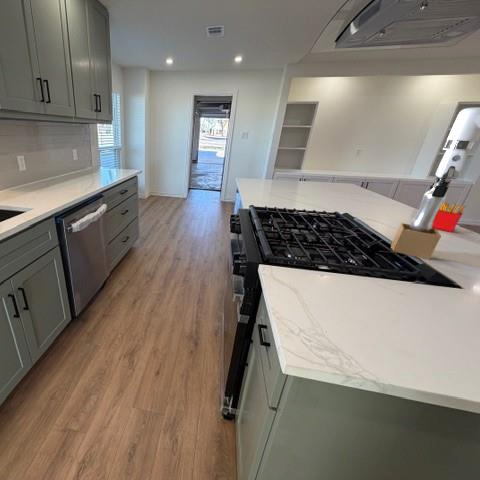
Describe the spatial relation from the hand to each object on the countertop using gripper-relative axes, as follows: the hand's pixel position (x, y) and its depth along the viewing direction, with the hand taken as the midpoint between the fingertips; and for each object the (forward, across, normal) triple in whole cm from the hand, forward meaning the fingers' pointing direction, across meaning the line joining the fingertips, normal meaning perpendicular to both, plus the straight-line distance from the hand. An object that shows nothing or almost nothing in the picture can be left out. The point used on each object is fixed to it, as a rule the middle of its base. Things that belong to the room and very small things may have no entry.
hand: (435, 195), depth 98 cm
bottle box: (+26, 0, 0) cm, 26 cm away
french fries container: (+26, +58, -18) cm, 66 cm away
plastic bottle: (+15, 0, 0) cm, 15 cm away
